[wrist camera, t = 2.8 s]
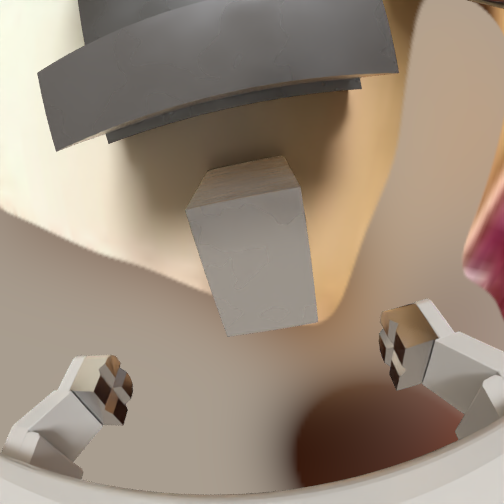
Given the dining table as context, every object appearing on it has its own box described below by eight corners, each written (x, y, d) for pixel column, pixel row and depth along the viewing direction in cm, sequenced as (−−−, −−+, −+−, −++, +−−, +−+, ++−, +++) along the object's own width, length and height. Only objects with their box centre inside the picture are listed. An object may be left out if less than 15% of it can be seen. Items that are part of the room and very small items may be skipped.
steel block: (283, 154, 15) (300, 187, 10) (299, 254, 18) (317, 322, 13) (207, 170, 16) (184, 210, 10) (233, 266, 18) (227, 336, 13)
